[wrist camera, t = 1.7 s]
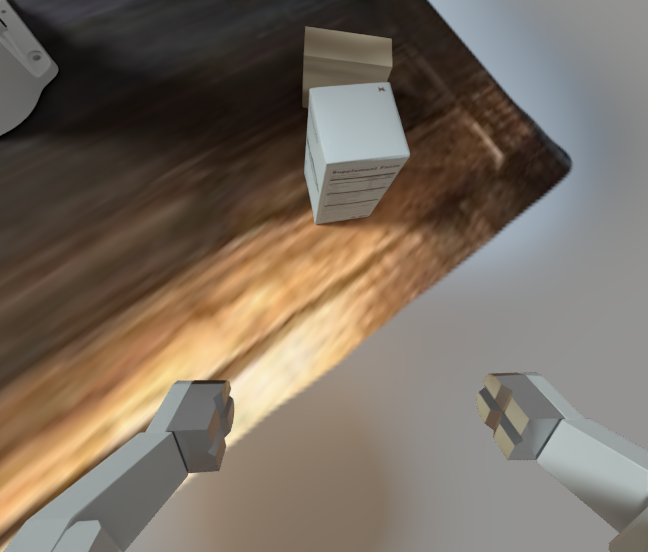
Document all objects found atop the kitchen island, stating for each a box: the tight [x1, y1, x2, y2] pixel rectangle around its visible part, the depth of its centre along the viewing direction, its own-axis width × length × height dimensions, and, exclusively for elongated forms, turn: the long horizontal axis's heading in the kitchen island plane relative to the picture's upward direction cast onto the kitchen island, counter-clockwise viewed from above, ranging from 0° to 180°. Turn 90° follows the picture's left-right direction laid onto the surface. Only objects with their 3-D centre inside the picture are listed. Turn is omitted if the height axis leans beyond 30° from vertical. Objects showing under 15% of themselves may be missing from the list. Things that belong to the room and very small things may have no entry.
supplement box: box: [304, 82, 410, 224], centre depth 28 cm, size 7×7×13 cm
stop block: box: [302, 27, 392, 108], centre depth 34 cm, size 4×10×7 cm, turn 88°
